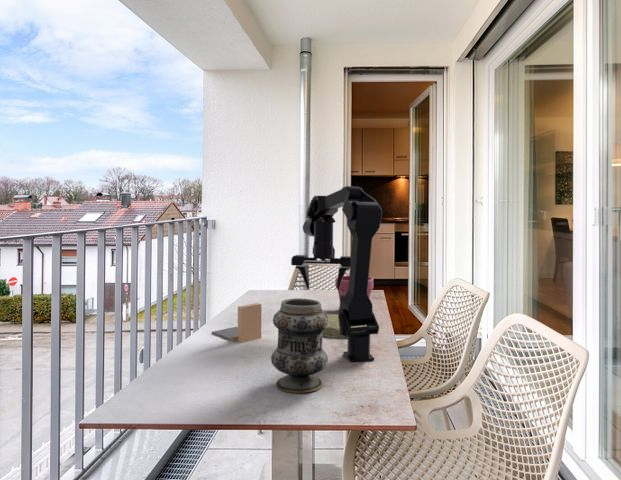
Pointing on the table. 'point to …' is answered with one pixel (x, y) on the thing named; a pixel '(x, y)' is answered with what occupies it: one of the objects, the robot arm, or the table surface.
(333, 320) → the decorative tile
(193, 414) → the table surface
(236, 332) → the mat
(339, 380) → the table surface
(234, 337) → the stop strip
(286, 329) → the apothecary jar
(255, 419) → the table surface
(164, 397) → the table surface
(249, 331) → the tile
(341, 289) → the plant pot
